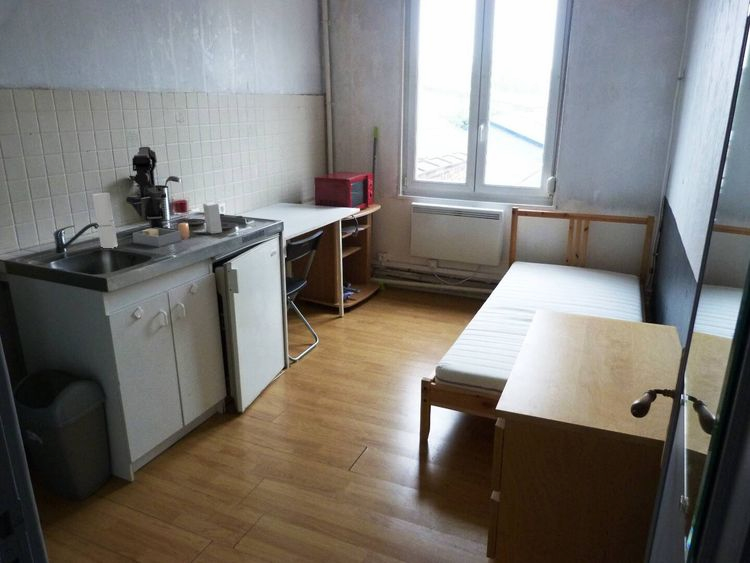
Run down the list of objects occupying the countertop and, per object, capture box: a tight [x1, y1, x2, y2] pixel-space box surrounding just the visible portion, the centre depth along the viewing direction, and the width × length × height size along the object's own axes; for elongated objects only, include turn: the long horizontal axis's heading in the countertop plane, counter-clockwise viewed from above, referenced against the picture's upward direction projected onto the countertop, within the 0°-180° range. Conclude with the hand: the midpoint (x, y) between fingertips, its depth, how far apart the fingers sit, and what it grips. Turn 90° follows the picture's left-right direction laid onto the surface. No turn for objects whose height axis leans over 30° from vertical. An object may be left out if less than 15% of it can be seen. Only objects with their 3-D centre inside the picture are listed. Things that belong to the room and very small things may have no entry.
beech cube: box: [141, 228, 159, 236], centre depth 274 cm, size 5×5×5 cm
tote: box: [132, 228, 183, 248], centre depth 272 cm, size 18×14×5 cm
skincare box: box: [202, 201, 223, 234], centre depth 291 cm, size 8×6×15 cm
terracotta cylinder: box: [177, 222, 191, 240], centre depth 281 cm, size 5×5×7 cm
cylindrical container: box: [91, 192, 118, 249], centre depth 262 cm, size 7×7×25 cm
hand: (149, 214), depth 272 cm, fingers open, 9 cm apart
